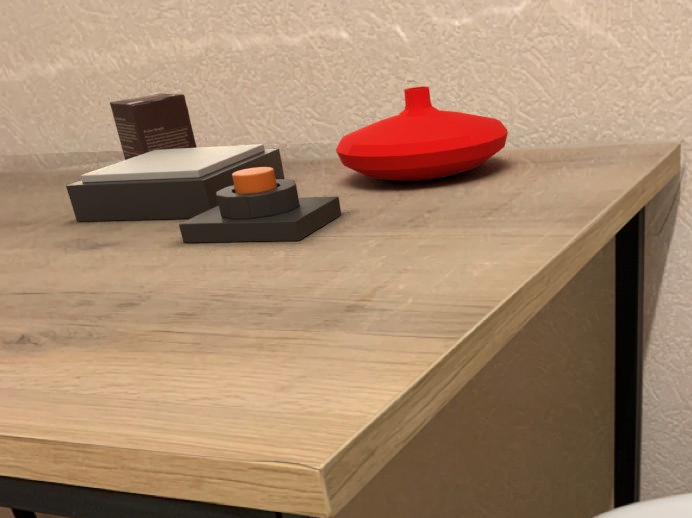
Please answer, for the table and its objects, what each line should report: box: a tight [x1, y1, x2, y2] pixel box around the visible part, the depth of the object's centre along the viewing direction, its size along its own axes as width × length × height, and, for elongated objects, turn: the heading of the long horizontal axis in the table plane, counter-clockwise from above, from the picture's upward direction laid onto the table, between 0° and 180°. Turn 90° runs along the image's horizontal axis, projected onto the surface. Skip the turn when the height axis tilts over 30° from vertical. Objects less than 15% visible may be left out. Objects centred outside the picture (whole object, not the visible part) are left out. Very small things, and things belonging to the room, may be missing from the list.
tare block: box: [178, 179, 342, 244], centre depth 70 cm, size 10×8×3 cm
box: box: [109, 92, 198, 160], centre depth 96 cm, size 6×6×7 cm
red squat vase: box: [335, 86, 509, 182], centre depth 82 cm, size 16×16×7 cm
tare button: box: [232, 167, 277, 194], centre depth 69 cm, size 3×3×2 cm
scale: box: [65, 143, 286, 223], centre depth 83 cm, size 14×14×4 cm
